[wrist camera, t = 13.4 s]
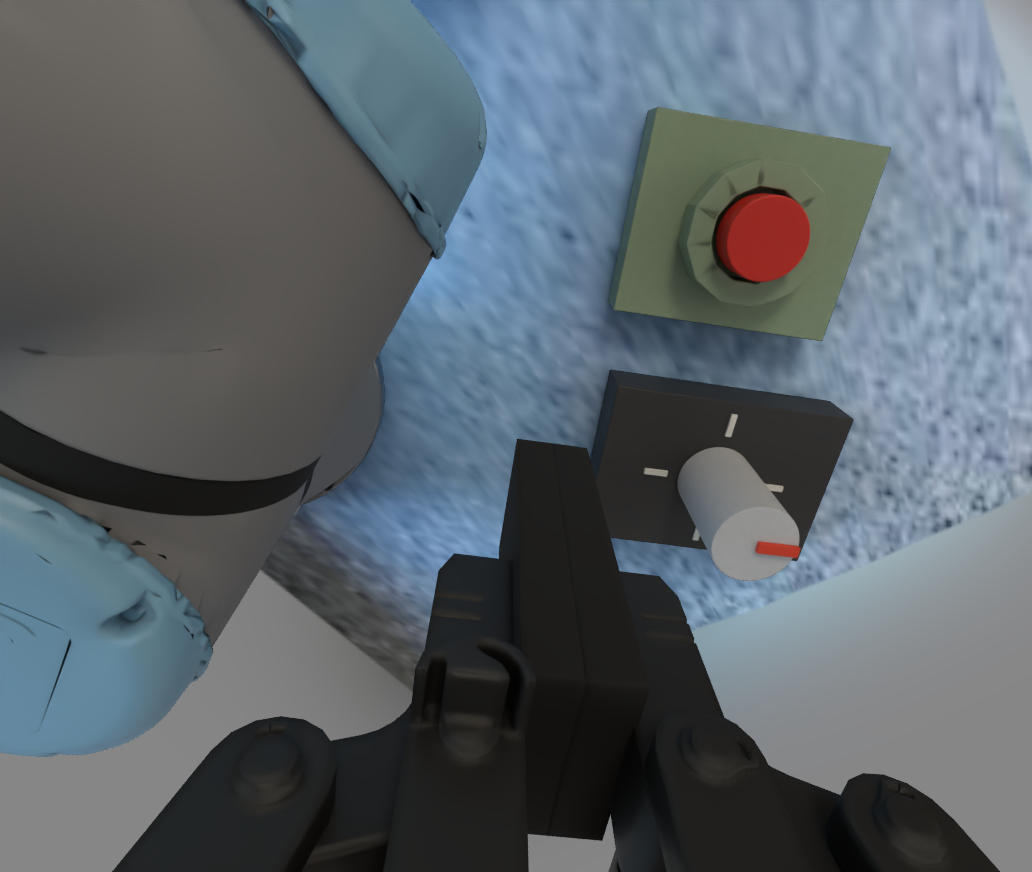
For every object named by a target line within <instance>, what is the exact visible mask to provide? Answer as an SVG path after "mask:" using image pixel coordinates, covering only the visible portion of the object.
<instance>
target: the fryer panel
mask: <svg viewBox="0 0 1032 872" xmlns="http://www.w3.org/2000/svg"><path fill="white" fill-rule="evenodd" d="M852 423H853V419H852V418H851V417H850V416H849V415H847V414H846V413H845V412H843V411H842V410H841V409H839V408H838V407H837V406H835V405H834V404H833V403H831V402H830V401H824V400H818V399H811V398H804V397H797V396H790V395H783V394H776V393H769V392H762V391H755V390H748V389H741V388H734V387H727V386H720V385H713V384H706V383H699V382H692V381H685V380H678V379H671V378H665V377H658V376H651V375H644V374H637V373H630V372H623V371H616V370H610V374H609V378H608V383H607V387H606V392H605V396H604V401H603V405H602V410H601V414H600V419H599V423H598V428H597V433H596V437H595V442H594V446H593V451H592V455H591V460H590V462H591V465H592V469H593V473H594V477H595V481H596V484H597V488H598V492H599V496H600V500H601V503H602V507H603V511H604V515H605V519H606V523H607V526H608V530H609V534H610V538H617V539H625V540H633V541H641V542H649V543H657V544H665V545H673V546H681V547H689V548H697V549H705V550H707V548H706V546H705V544H704V542H703V540H702V538H701V536H700V534H699V532H698V530H697V528H696V526H695V524H694V522H693V520H692V518H691V516H690V514H689V512H688V510H687V508H686V506H685V504H684V502H683V500H682V498H681V496H680V494H679V491H678V485H677V484H678V476H679V473H680V471H681V469H682V467H683V466H684V464H685V463H686V462H687V461H688V460H689V459H690V458H691V457H692V456H693V455H695V454H696V453H698V452H700V451H702V450H705V449H708V448H714V447H724V448H729V449H732V450H735V451H737V452H738V453H740V454H741V455H742V456H743V457H744V458H745V459H746V460H747V462H748V463H749V464H750V465H751V467H752V468H753V469H754V471H755V472H756V473H757V474H758V476H759V477H760V478H761V480H762V481H763V482H764V483H765V485H766V486H767V487H768V488H769V490H770V491H771V492H772V494H773V495H774V496H775V497H776V499H777V500H778V501H779V502H780V504H781V505H782V506H783V508H784V509H785V510H786V511H787V513H788V514H789V515H790V517H791V518H792V519H793V520H794V522H795V523H796V525H797V528H798V530H799V547H800V549H801V550H802V548H803V545H804V543H805V540H806V538H807V535H808V533H809V530H810V528H811V525H812V523H813V520H814V518H815V515H816V513H817V510H818V508H819V505H820V503H821V500H822V498H823V495H824V493H825V490H826V488H827V485H828V483H829V480H830V478H831V475H832V473H833V470H834V468H835V465H836V463H837V460H838V458H839V455H840V453H841V450H842V448H843V445H844V443H845V440H846V438H847V435H848V433H849V430H850V428H851V425H852ZM801 550H800V553H801ZM800 553H799V555H800ZM799 555H798V558H799ZM798 558H793V559H792V561H797V560H798Z"/></svg>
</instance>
